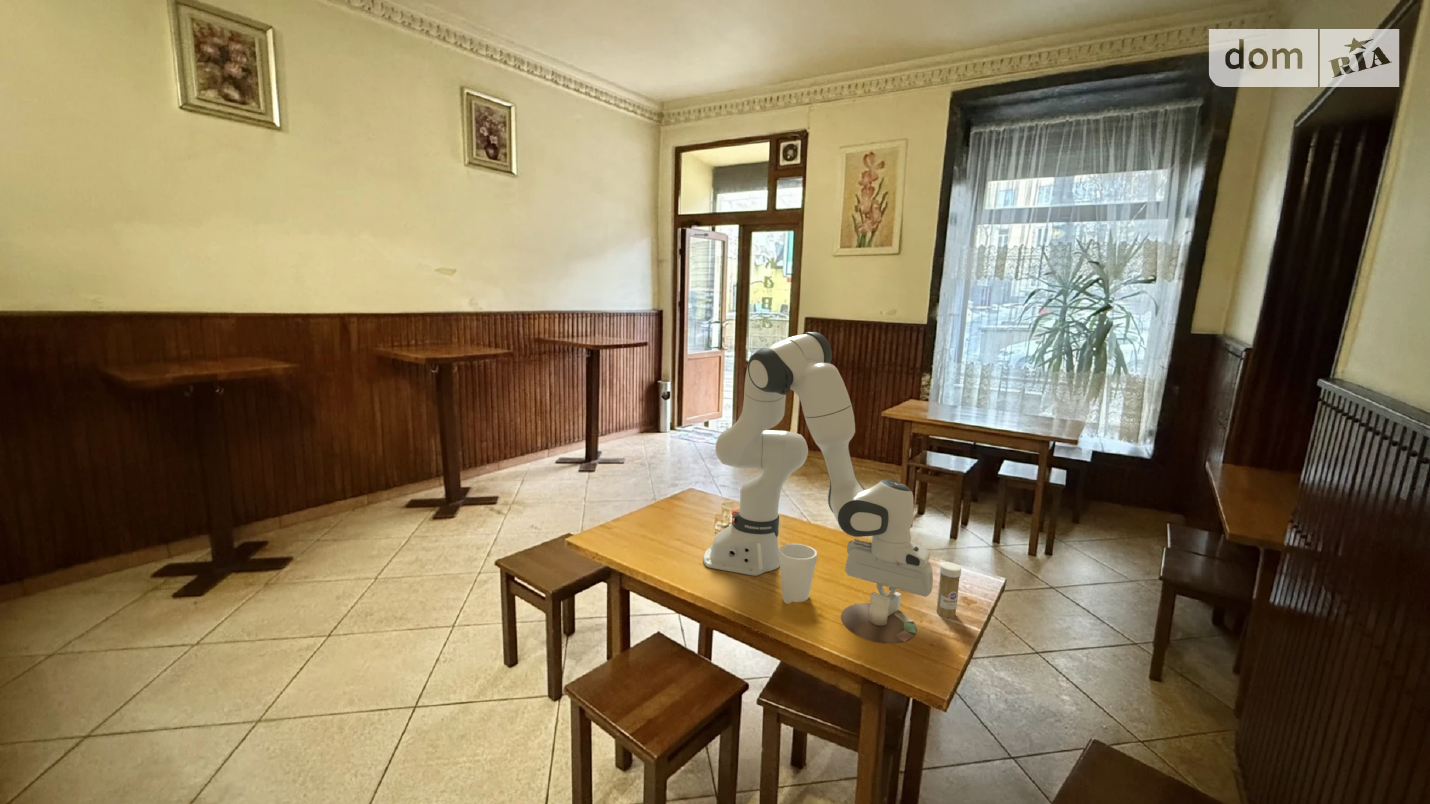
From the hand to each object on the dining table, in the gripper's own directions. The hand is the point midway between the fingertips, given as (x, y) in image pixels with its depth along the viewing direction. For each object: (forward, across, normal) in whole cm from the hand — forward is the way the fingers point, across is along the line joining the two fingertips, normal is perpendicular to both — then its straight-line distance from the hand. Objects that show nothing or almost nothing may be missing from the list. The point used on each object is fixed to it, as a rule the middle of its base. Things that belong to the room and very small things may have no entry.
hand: (885, 601), depth 136 cm
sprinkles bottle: (+3, +13, +6) cm, 15 cm away
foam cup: (+4, -21, -6) cm, 22 cm away
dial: (+3, 0, -7) cm, 8 cm away
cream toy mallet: (+2, +1, -3) cm, 4 cm away
